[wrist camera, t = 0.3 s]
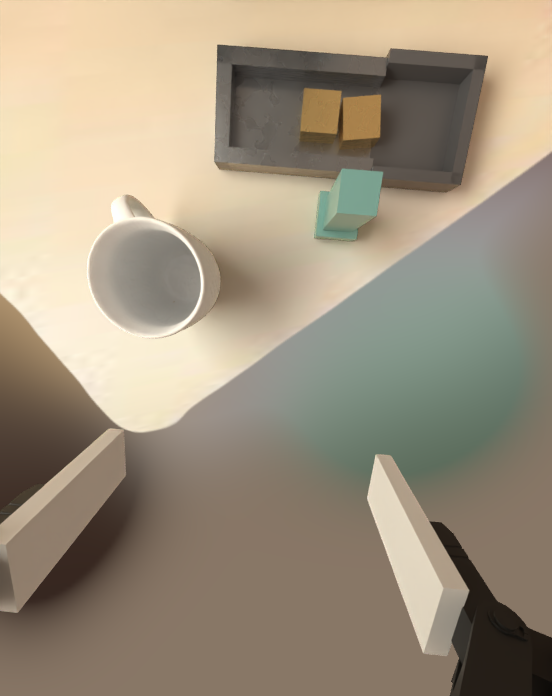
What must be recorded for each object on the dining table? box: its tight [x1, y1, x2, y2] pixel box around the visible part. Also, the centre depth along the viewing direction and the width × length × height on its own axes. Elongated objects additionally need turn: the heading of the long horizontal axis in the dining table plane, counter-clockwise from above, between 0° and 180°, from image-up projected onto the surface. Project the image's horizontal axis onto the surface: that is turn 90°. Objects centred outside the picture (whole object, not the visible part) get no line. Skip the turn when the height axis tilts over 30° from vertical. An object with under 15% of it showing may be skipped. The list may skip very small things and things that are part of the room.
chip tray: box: [370, 49, 488, 192], centre depth 33 cm, size 12×10×3 cm
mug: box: [87, 195, 221, 338], centre depth 33 cm, size 15×11×13 cm
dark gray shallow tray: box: [214, 45, 388, 179], centre depth 33 cm, size 11×18×2 cm, turn 85°
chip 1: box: [299, 88, 342, 144], centre depth 33 cm, size 4×4×2 cm
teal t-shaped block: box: [314, 169, 383, 241], centre depth 31 cm, size 5×5×12 cm
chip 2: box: [339, 95, 381, 150], centre depth 33 cm, size 4×4×2 cm
